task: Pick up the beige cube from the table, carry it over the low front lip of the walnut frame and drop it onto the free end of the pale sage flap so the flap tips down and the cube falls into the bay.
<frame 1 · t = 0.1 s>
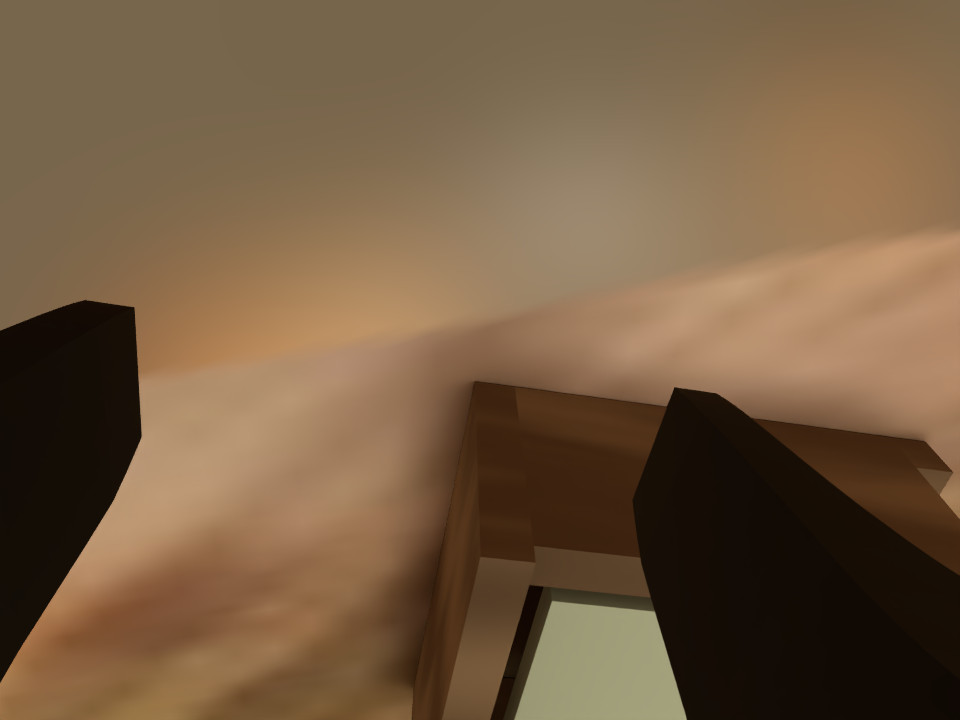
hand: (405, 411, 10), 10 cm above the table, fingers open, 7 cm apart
frame: (642, 579, 26), on the table
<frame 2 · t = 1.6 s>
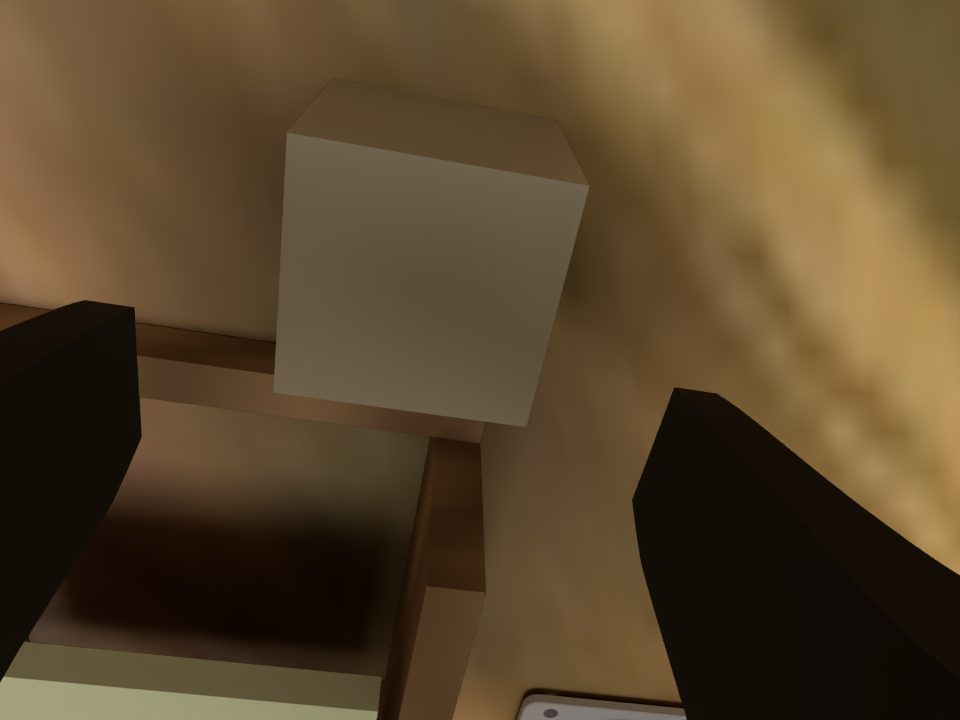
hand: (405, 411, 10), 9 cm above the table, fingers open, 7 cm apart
frame: (212, 538, 23), on the table
beige cube: (425, 245, 15), point 2 cm above the table
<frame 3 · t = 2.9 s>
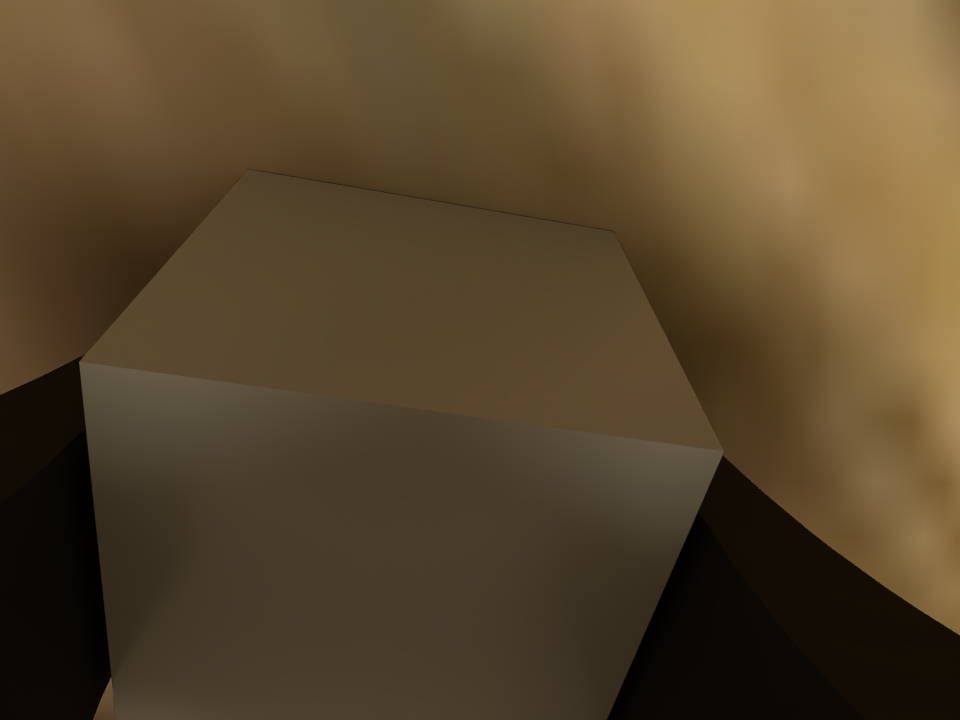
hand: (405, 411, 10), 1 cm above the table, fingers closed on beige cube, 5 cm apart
beige cube: (399, 460, 9), point 2 cm above the table, touching gripper
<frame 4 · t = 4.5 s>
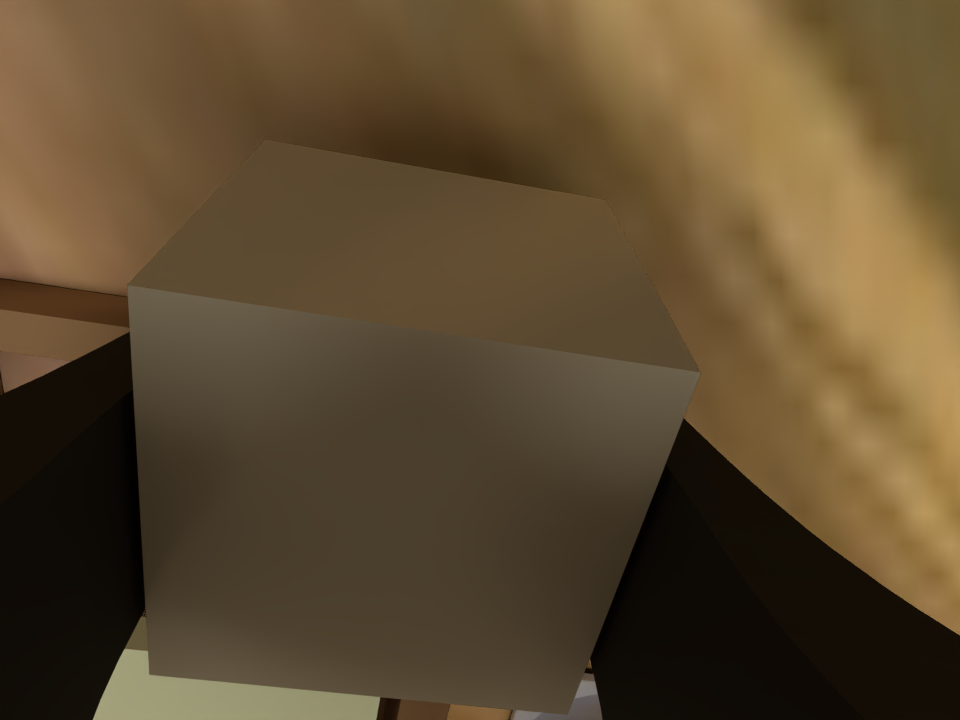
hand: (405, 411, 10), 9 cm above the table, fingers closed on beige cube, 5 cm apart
frame: (221, 514, 23), on the table
beige cube: (406, 407, 10), point 10 cm above the table, touching gripper
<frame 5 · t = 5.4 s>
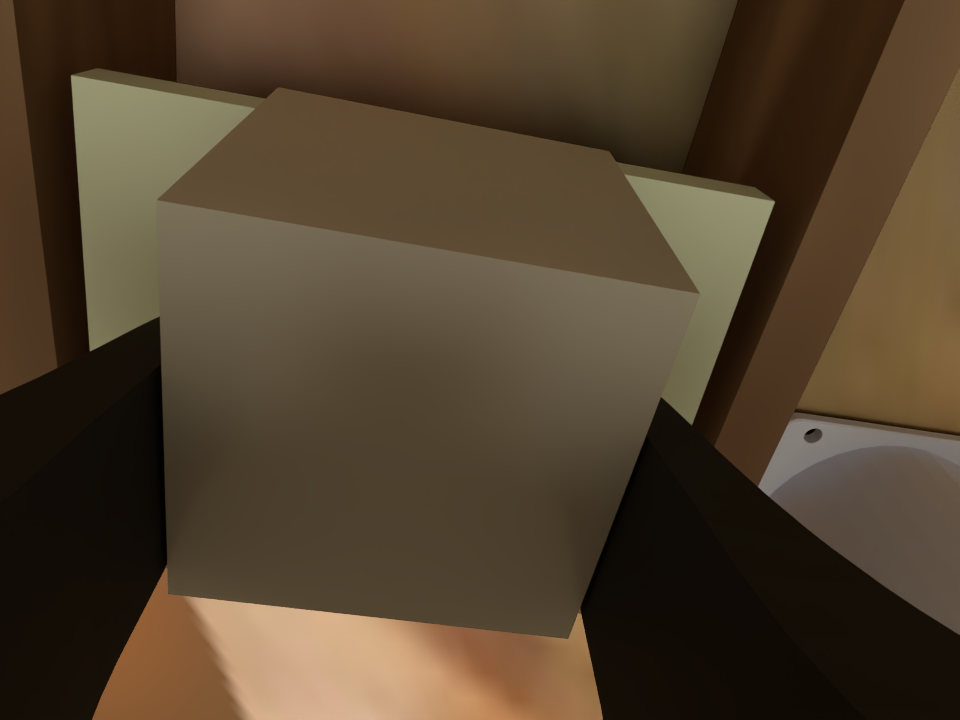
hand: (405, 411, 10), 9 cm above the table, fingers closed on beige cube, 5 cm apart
frame: (435, 153, 18), on the table
beige cube: (414, 346, 10), point 9 cm above the table, touching gripper
flap: (412, 330, 13), point 6 cm above the table, hinge at -2.7°
when the fingers open (9 cm above the table, at t = 6.2 s): beige cube drops 2 cm, resting on flap.
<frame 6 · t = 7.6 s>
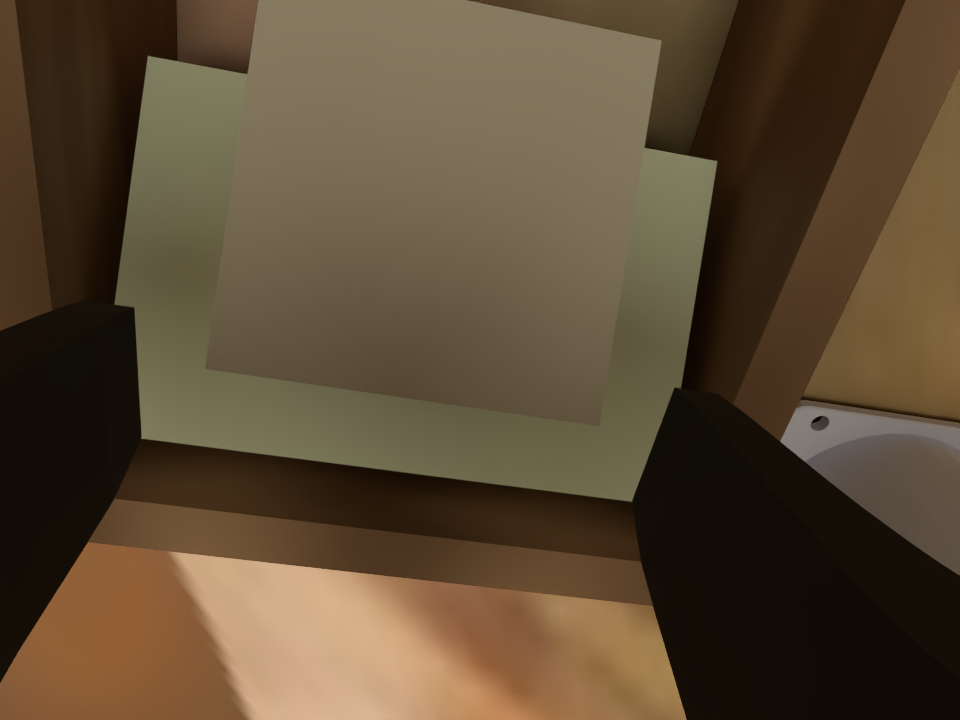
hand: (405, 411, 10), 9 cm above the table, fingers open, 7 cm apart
frame: (439, 134, 17), on the table
beige cube: (430, 227, 12), point 7 cm above the table, tilted 28°, touching flap
flap: (417, 293, 15), point 4 cm above the table, hinge at -27.9°, touching beige cube
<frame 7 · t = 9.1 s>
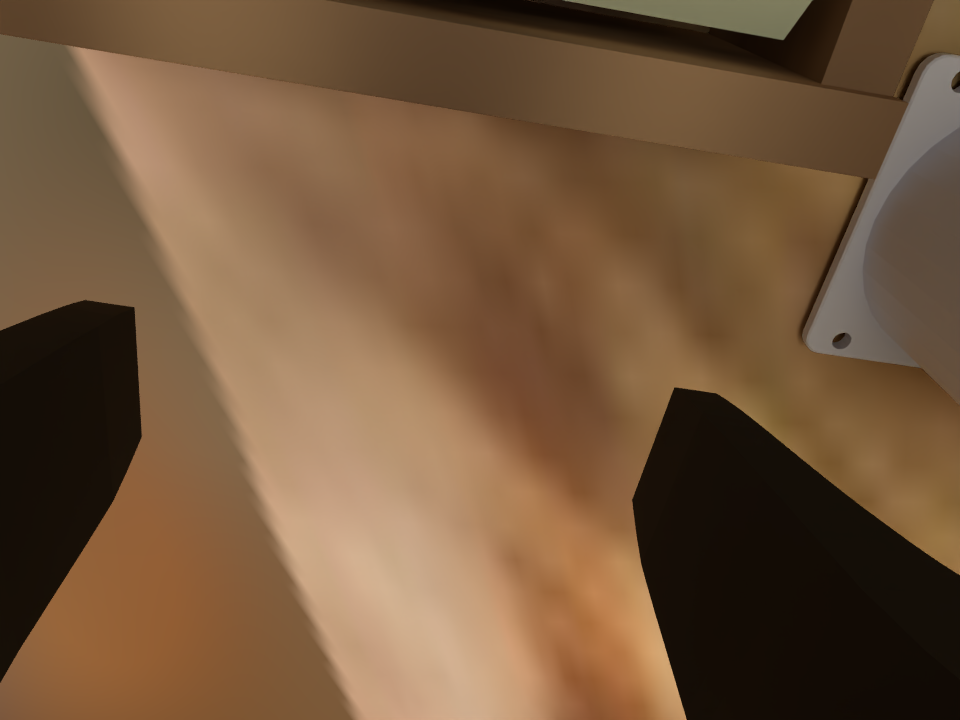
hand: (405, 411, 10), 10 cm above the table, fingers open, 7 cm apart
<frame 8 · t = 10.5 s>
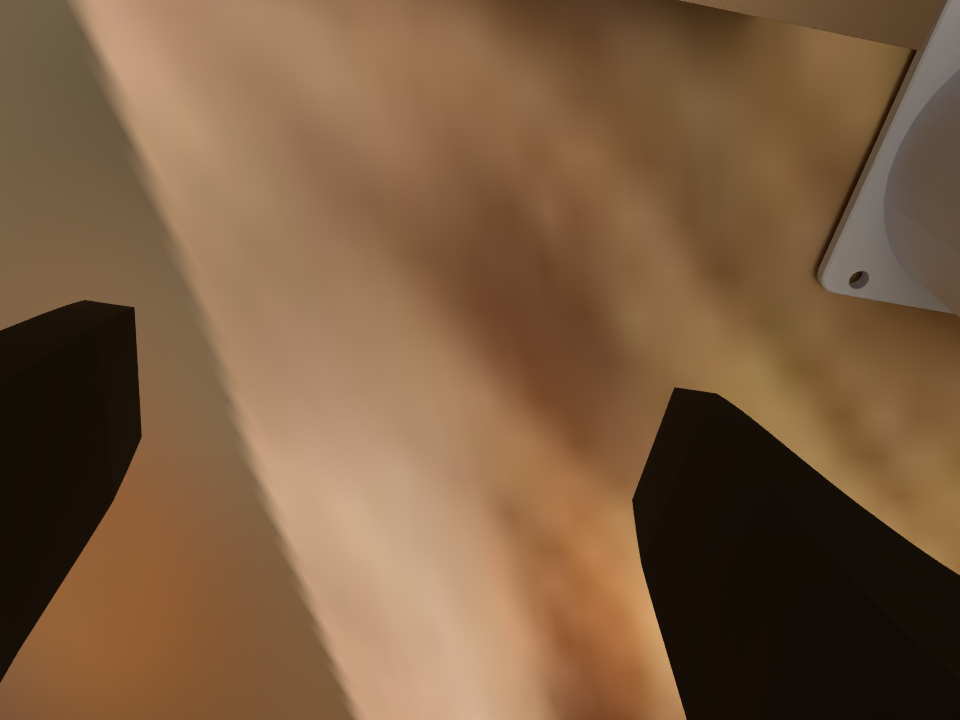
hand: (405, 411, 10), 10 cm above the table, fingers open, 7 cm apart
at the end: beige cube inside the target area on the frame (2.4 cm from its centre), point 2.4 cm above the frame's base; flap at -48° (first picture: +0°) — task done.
